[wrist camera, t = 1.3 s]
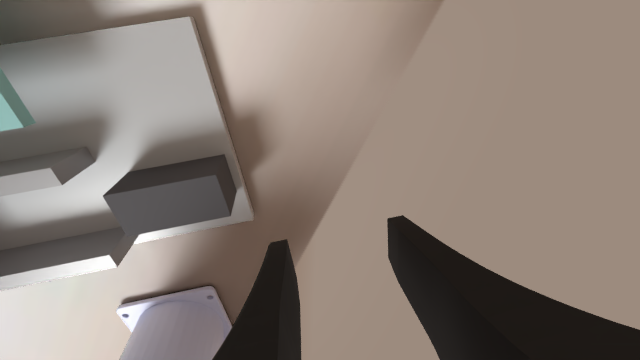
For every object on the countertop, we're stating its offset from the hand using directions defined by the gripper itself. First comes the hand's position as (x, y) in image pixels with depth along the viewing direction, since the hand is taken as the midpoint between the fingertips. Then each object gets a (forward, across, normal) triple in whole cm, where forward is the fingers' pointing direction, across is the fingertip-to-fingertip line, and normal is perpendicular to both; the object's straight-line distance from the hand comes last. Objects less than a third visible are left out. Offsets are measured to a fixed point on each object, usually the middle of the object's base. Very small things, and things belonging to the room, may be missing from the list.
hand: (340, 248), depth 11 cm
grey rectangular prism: (+9, +8, 0) cm, 12 cm away
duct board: (+10, +14, -2) cm, 17 cm away
